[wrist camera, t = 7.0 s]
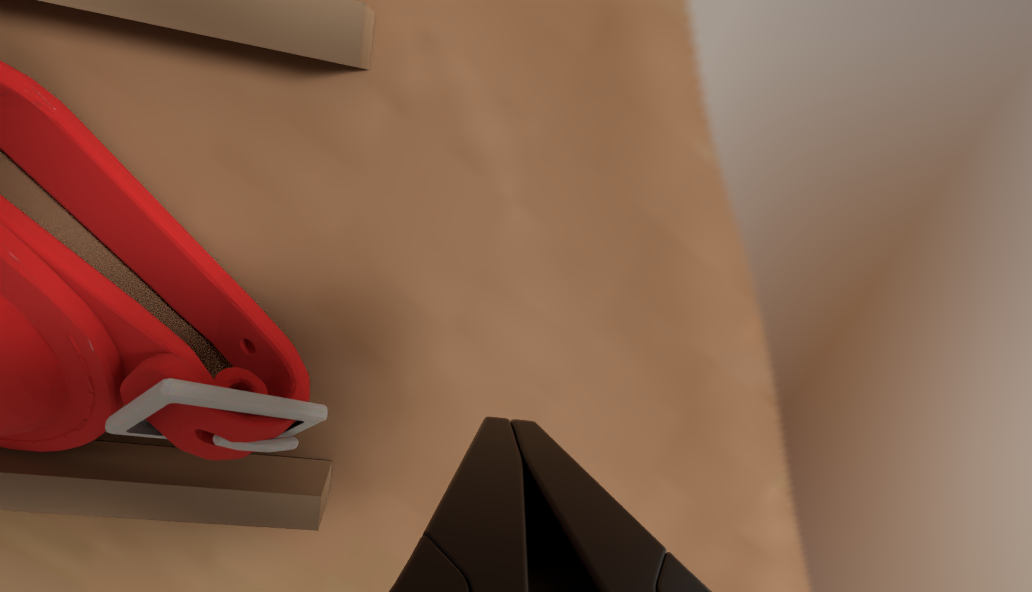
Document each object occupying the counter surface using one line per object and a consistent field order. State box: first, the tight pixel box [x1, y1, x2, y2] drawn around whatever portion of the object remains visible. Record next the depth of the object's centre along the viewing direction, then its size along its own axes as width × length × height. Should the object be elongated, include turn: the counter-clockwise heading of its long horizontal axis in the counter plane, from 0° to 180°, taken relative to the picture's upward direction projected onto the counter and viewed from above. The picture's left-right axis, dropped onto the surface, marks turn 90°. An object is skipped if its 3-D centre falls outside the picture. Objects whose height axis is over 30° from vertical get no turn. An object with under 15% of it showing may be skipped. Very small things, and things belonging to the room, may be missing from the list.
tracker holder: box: [0, 61, 328, 460], centre depth 12 cm, size 12×4×10 cm
